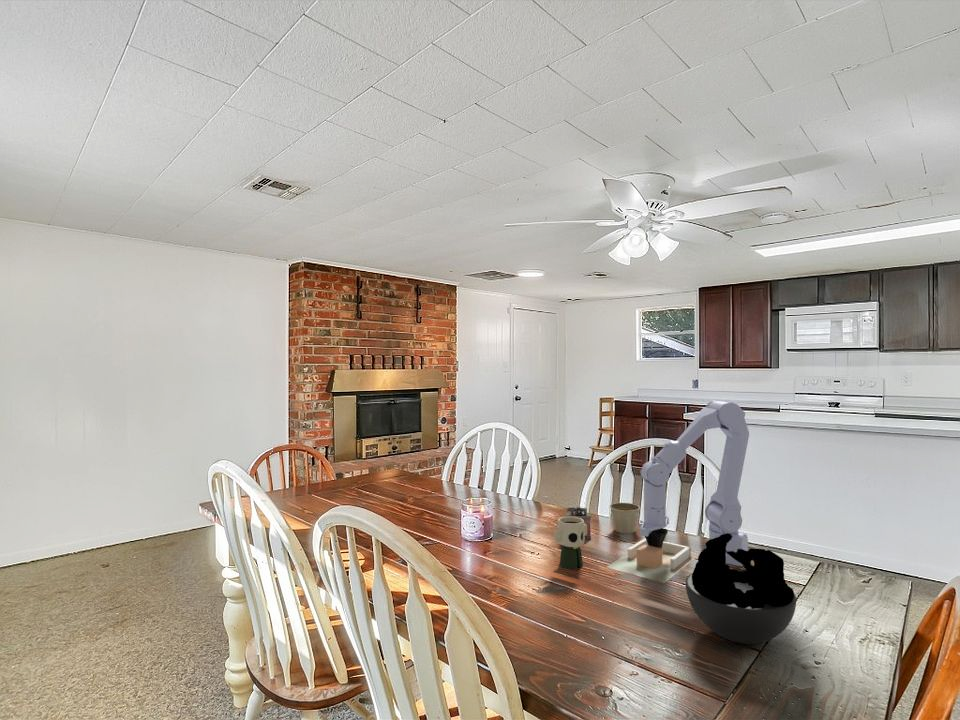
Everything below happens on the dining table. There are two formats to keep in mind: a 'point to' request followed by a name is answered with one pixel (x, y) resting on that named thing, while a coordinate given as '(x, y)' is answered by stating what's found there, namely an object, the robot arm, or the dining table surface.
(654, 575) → the board
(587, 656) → the dining table surface
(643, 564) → the block
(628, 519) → the flower pot
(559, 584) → the dining table surface
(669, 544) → the cream u-shaped frame
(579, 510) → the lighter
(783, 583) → the coal bowl
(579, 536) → the character mug
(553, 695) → the dining table surface
